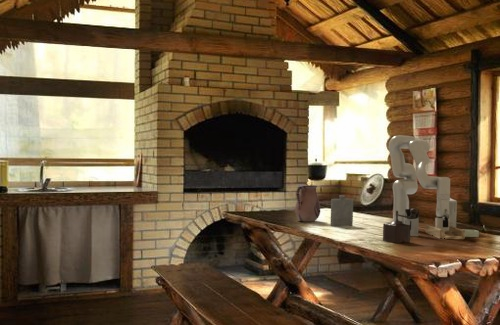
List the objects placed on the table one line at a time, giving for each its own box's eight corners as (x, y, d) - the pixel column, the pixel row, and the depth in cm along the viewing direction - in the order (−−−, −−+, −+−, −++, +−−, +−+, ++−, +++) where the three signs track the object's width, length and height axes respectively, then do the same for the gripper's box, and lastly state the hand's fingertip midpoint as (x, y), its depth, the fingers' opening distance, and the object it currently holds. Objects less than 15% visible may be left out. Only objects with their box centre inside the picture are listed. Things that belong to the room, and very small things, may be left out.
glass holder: (421, 235, 332) (422, 210, 332) (408, 237, 323) (409, 210, 323) (408, 233, 339) (409, 208, 339) (395, 235, 329) (395, 209, 329)
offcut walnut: (444, 234, 327) (444, 231, 327) (444, 233, 332) (444, 230, 332) (451, 234, 326) (452, 231, 326) (451, 233, 330) (451, 230, 330)
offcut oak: (445, 238, 326) (445, 234, 326) (442, 237, 331) (442, 233, 331) (453, 238, 326) (453, 234, 326) (450, 237, 331) (450, 233, 331)
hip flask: (331, 226, 366) (332, 195, 366) (328, 225, 370) (329, 195, 370) (353, 226, 372) (354, 195, 371) (350, 225, 375) (351, 195, 375)
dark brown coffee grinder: (396, 243, 295) (397, 209, 295) (382, 240, 305) (383, 207, 305) (418, 242, 303) (419, 208, 303) (403, 239, 312) (404, 206, 312)
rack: (439, 238, 321) (440, 229, 321) (425, 232, 347) (426, 224, 347) (464, 239, 321) (464, 230, 321) (448, 233, 347) (448, 225, 347)
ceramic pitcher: (324, 221, 395) (325, 185, 395) (310, 223, 377) (311, 186, 377) (301, 219, 404) (302, 184, 404) (287, 221, 387) (288, 185, 386)
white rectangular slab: (436, 235, 337) (436, 218, 337) (434, 234, 339) (435, 217, 339) (448, 235, 337) (449, 218, 337) (447, 234, 339) (447, 218, 339)
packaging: (456, 233, 348) (457, 201, 348) (445, 232, 349) (446, 200, 349) (449, 228, 378) (450, 198, 378) (439, 227, 379) (440, 197, 379)
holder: (458, 236, 333) (458, 230, 333) (453, 234, 340) (453, 229, 340) (479, 237, 333) (479, 231, 333) (474, 235, 340) (474, 229, 340)
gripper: (432, 196, 347) (431, 224, 346) (441, 198, 329) (441, 227, 329) (444, 197, 347) (444, 225, 346) (454, 198, 329) (454, 228, 329)
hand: (442, 226), depth 338 cm, fingers open, 9 cm apart
